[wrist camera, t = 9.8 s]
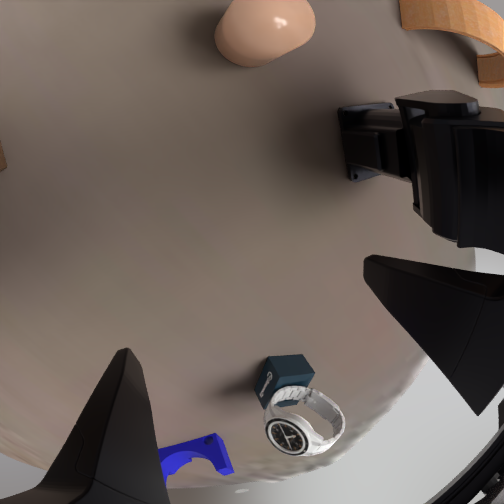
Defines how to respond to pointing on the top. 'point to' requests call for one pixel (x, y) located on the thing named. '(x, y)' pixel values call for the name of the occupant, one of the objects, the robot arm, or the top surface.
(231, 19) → the terracotta cylinder
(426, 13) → the arch
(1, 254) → the top surface
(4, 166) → the walnut cube
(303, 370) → the watch
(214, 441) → the cable clip
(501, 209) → the robot arm
